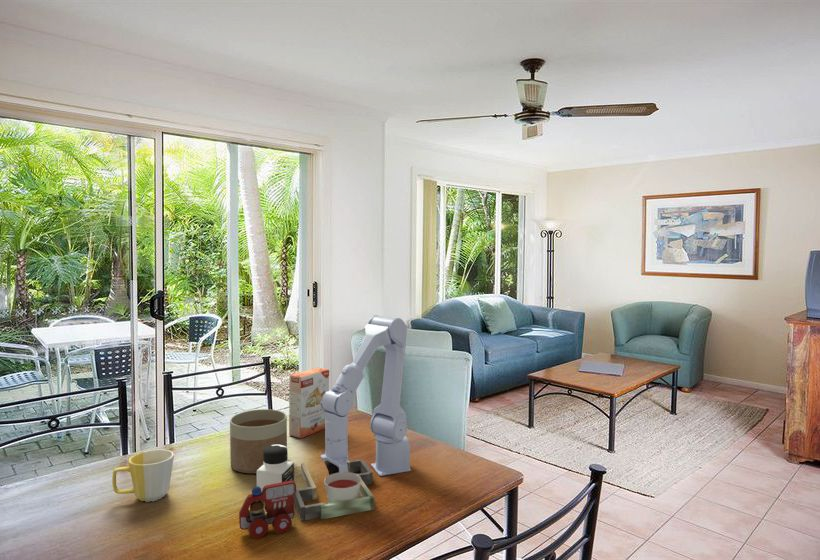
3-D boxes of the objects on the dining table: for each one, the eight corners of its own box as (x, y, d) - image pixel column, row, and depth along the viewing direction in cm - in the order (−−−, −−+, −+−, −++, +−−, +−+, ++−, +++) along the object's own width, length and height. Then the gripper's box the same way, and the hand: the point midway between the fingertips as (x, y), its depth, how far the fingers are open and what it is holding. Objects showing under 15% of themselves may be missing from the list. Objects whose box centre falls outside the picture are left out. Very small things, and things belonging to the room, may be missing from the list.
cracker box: (301, 439, 172) (301, 377, 171) (288, 435, 176) (288, 374, 174) (330, 427, 184) (330, 368, 183) (317, 424, 187) (317, 366, 186)
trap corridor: (359, 465, 153) (359, 455, 153) (389, 506, 129) (389, 494, 129) (284, 476, 145) (284, 466, 144) (301, 523, 121) (301, 510, 120)
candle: (362, 512, 126) (362, 486, 125) (324, 515, 124) (324, 489, 124) (359, 495, 135) (359, 471, 134) (324, 497, 133) (324, 473, 133)
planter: (266, 479, 143) (266, 429, 142) (218, 470, 148) (217, 423, 147) (297, 457, 158) (297, 412, 157) (252, 450, 163) (252, 406, 162)
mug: (178, 485, 139) (177, 447, 138) (170, 504, 129) (169, 462, 128) (121, 491, 135) (120, 451, 135) (108, 510, 126) (107, 468, 125)
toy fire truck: (238, 526, 119) (237, 482, 118) (293, 516, 124) (292, 473, 123) (240, 542, 113) (240, 495, 112) (298, 531, 117) (298, 486, 117)
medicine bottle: (282, 500, 131) (282, 453, 131) (256, 497, 133) (255, 451, 132) (294, 487, 138) (294, 443, 138) (269, 484, 140) (269, 441, 139)
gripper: (315, 429, 139) (315, 479, 140) (327, 449, 126) (327, 504, 127) (340, 426, 142) (340, 475, 143) (355, 445, 129) (355, 499, 130)
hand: (336, 488), depth 135 cm, fingers closed
